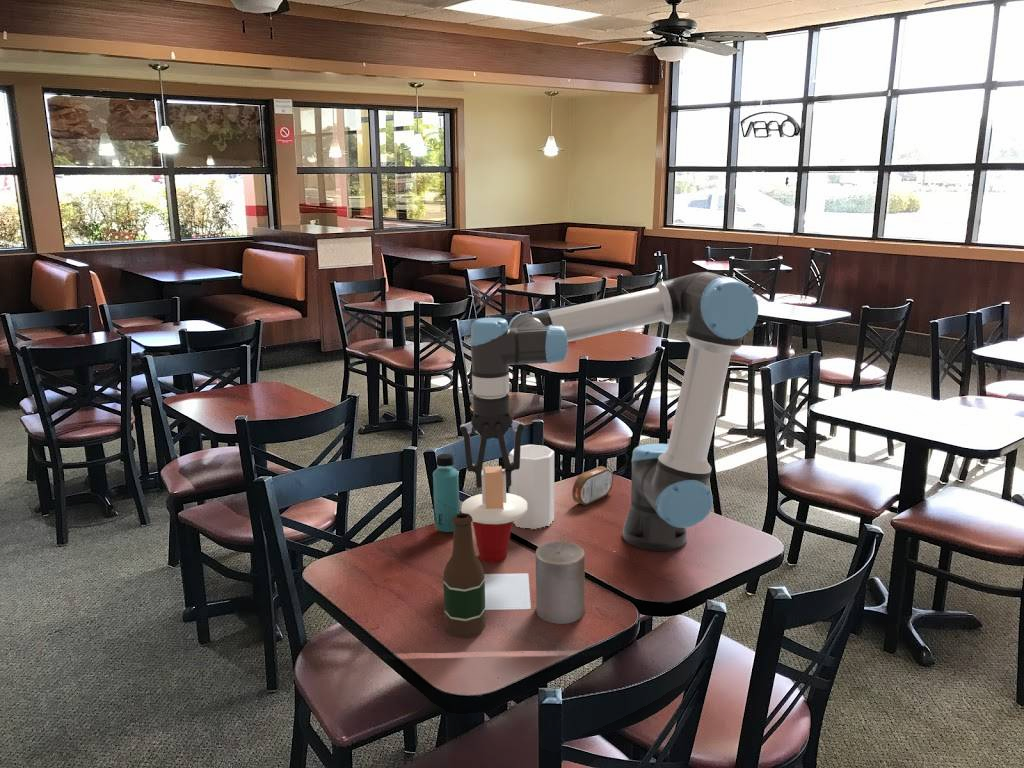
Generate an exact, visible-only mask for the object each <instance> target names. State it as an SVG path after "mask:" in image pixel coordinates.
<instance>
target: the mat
mask: <svg viewBox="0 0 1024 768" xmlns="http://www.w3.org/2000/svg"><path fill="white" fill-rule="evenodd" d="M484 577H485V611H501V610H502V611H503V610H505V611H508V610H510V611H511V610H512V611H513V610H531V609H532V604H531V592H530V580H529V579H530V578H529V577H530V576H529V573H528V572H527V573H523V572H521V573H484Z"/></svg>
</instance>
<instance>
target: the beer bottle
mask: <svg viewBox="0 0 1024 768" xmlns="http://www.w3.org/2000/svg"><path fill="white" fill-rule="evenodd" d="M452 522H453V523H454V531H453V536H452V537H453V540H452V553H451V556H450V558H449V560H448V561H447V563H446V564H445V567H444V571H443V601H444V602H443V606H444V625H445V631H447V632H448V634H449V635H450V636H451V637H454V638H455V637H456V638H461V639H464V640H465V639H469V638H472V637H476V636H480V635H481V634H482V632H483V631H484V629H485V628H486V610H485V577H484V574H485V569H484V567H483V565H482V563H481V561H480V559H479V558H478V557H477V556H476V554H475V553H476V552H475V549H474V538H473V529H472V523H473V520H472V517H471V515H469V514H467V513H462V512H460V513H459V514H456V515H455V516H454V517H453V520H452Z"/></svg>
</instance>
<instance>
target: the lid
mask: <svg viewBox="0 0 1024 768" xmlns="http://www.w3.org/2000/svg"><path fill="white" fill-rule="evenodd" d="M502 469H503V467H502V466H501V465H499V466H498V465H497V466H484V470H485V491H486V504H482V493H480V494H475V495H473V496H470V497H469V498H466V499H465V500H464V501H463V502H462V503H461V505H460V506H461V507H460V511H461V513H467V514H469V515H471V517H472V520H473V521H472V523H473V522H477V523H482V524H502V523H508V522H512V521H515V520H518V519H520V518H522V517H523V516H524V515H525V514H526V513H527V502H526V500H525V499H523V498H522V497H520V496H517V495H514V494H510V492H506V503H503V481H502Z"/></svg>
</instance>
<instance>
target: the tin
mask: <svg viewBox="0 0 1024 768" xmlns="http://www.w3.org/2000/svg"><path fill="white" fill-rule="evenodd" d="M613 482H614V473H613V471H612V470H611V469H610V468H608V467H607V468H606V467H605V466H603V465H600V466H598V467H595V468H593V469H591V470H588V471H584V472H582V473H581V474H580V475H578V477H577V478H576V480H575V481H574V483H573V486H572V490H571V491H572V495H571V496H572V500H573V501H574V502H576V503H579V504H581V505H583V506H584V505H585V506H587V505H589V504H592V503H594V502H596V501H598V500H600V499H603V498H605V497H606V496H607V495H608V494H609V493H610V492H611V490H612V487H613V484H614V483H613Z"/></svg>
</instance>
